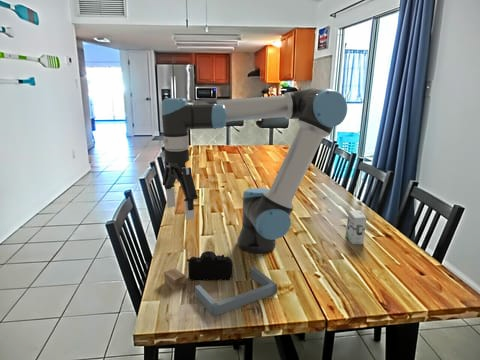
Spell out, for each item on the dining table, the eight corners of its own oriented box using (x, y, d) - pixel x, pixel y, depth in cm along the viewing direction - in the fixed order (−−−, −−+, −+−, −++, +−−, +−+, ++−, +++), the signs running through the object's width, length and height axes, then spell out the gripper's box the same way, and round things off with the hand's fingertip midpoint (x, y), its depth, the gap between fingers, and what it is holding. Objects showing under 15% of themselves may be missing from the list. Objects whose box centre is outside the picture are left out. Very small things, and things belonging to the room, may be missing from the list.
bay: (254, 275, 119) (254, 267, 118) (276, 292, 110) (277, 284, 109) (195, 294, 108) (195, 286, 107) (214, 316, 98) (214, 307, 97)
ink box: (345, 235, 152) (347, 209, 149) (356, 235, 152) (359, 209, 149) (351, 244, 144) (354, 217, 140) (363, 244, 144) (367, 217, 141)
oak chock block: (175, 279, 116) (174, 268, 115) (185, 286, 112) (185, 275, 111) (164, 283, 114) (164, 272, 113) (174, 291, 110) (174, 279, 109)
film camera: (232, 266, 125) (232, 243, 122) (232, 281, 116) (232, 256, 113) (188, 266, 124) (188, 243, 122) (185, 281, 115) (185, 256, 112)
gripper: (149, 144, 118) (154, 204, 124) (183, 157, 98) (187, 227, 104) (170, 142, 122) (174, 200, 128) (207, 154, 103) (209, 221, 108)
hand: (180, 212), depth 116 cm, fingers open, 13 cm apart
